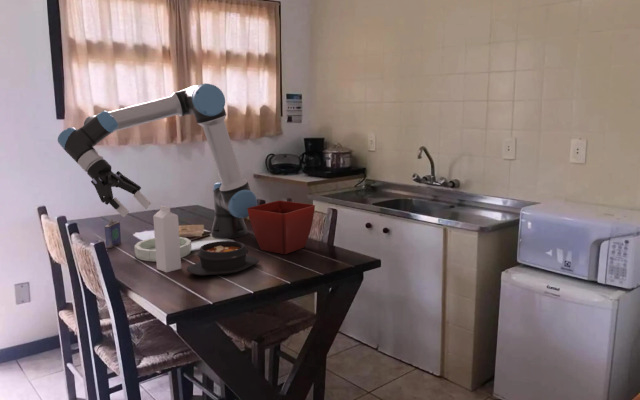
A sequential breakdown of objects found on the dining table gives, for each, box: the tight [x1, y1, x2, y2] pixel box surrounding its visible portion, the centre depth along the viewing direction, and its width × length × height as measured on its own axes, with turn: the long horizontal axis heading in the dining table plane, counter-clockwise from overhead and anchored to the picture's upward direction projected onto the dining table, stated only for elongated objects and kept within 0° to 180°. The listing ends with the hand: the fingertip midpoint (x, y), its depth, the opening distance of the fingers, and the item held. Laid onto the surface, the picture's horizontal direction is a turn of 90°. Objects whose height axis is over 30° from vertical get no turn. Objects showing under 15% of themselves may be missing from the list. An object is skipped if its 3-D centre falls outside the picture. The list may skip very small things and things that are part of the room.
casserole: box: [186, 240, 260, 277], centre depth 179 cm, size 25×19×8 cm
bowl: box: [133, 236, 192, 262], centre depth 200 cm, size 20×20×4 cm
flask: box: [104, 219, 122, 249], centre depth 211 cm, size 9×3×11 cm, turn 172°
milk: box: [152, 205, 182, 273], centre depth 180 cm, size 6×6×22 cm
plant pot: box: [247, 200, 316, 255], centre depth 203 cm, size 19×19×17 cm
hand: (137, 210), depth 180 cm, fingers open, 13 cm apart
